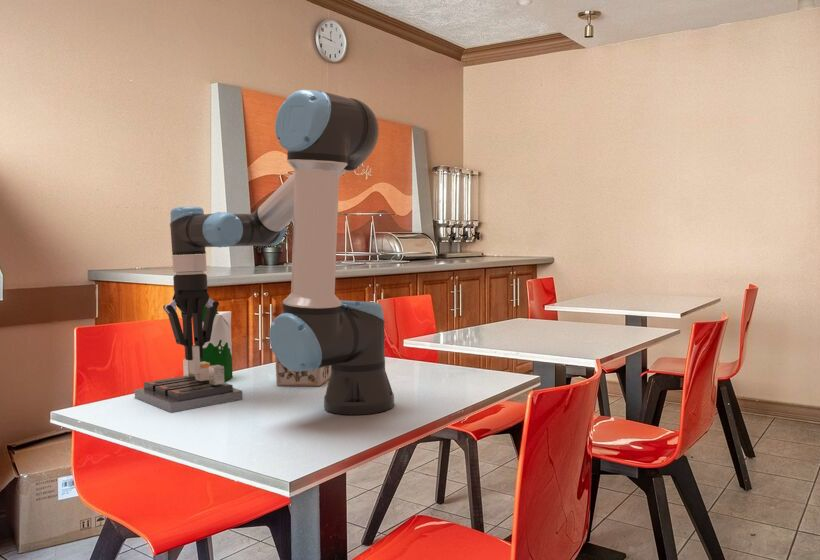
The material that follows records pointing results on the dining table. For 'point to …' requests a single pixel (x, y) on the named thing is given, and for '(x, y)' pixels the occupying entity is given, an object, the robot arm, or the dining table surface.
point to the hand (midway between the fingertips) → (195, 373)
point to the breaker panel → (188, 390)
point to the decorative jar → (301, 376)
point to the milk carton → (219, 343)
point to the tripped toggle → (203, 372)
